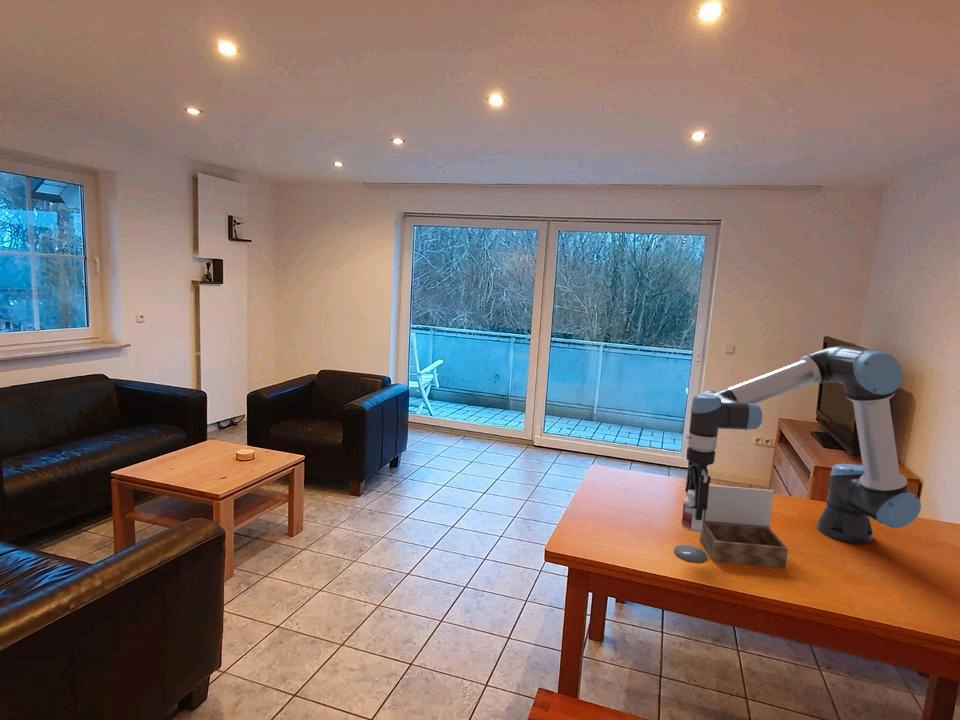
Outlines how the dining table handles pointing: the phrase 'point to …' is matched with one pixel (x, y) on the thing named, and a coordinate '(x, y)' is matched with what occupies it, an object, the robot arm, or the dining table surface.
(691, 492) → the pill bottle
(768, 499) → the frame lid
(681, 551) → the grey round disc
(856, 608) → the dining table surface
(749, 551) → the box
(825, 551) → the dining table surface
